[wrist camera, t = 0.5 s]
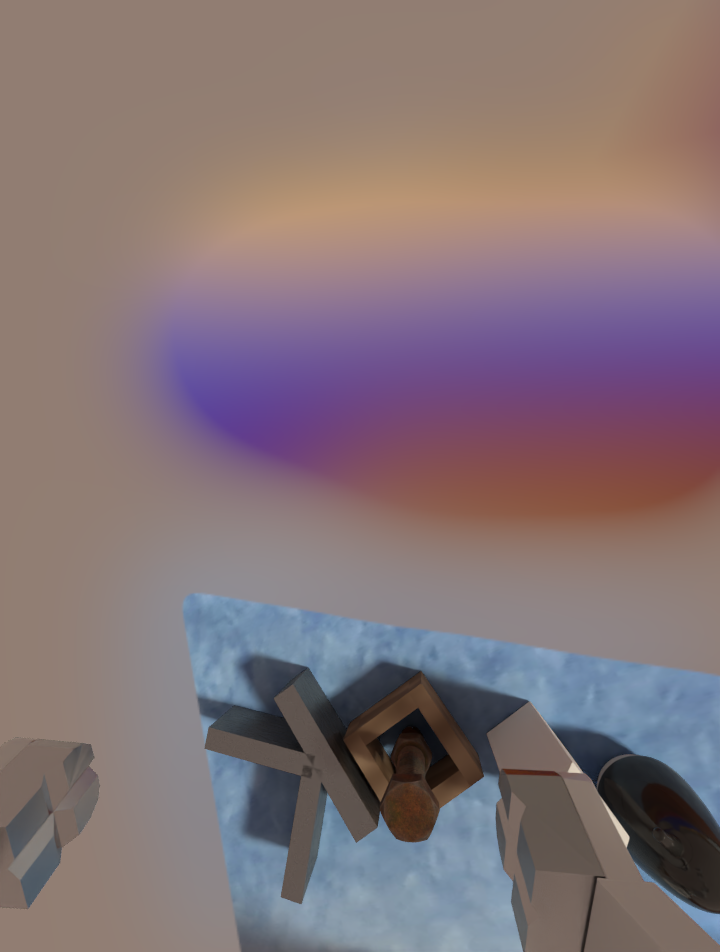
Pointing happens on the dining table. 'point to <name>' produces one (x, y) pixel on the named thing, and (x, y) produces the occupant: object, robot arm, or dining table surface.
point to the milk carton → (534, 748)
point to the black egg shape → (665, 827)
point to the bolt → (410, 790)
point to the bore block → (461, 759)
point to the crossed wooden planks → (302, 768)
